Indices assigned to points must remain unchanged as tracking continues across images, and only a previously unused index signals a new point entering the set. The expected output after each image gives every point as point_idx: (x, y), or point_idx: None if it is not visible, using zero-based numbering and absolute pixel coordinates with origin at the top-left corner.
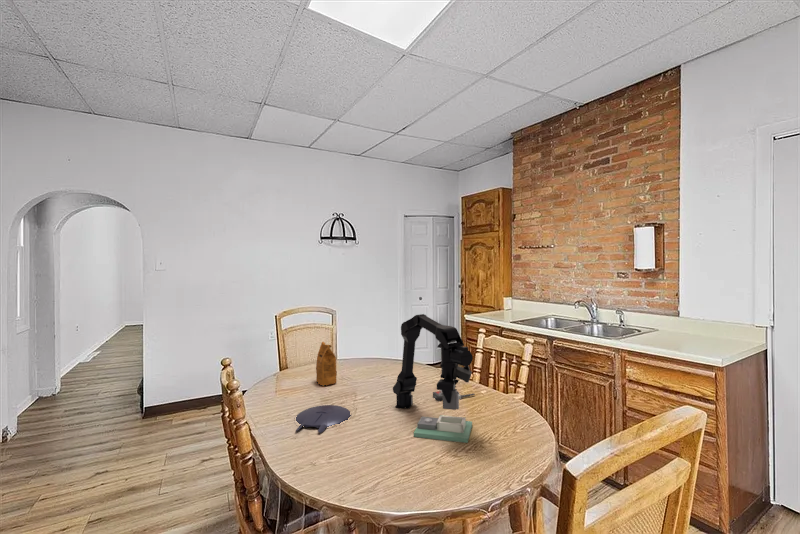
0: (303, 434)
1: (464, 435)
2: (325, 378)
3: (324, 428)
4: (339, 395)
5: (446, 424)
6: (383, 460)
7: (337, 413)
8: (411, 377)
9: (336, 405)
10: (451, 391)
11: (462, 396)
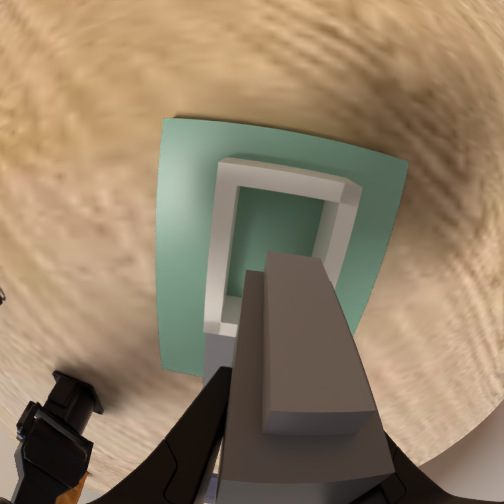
0: None
1: (374, 174)
2: (80, 481)
3: None
4: (105, 467)
5: None
6: (438, 398)
7: (214, 490)
8: (43, 470)
9: None
10: (440, 491)
11: None
